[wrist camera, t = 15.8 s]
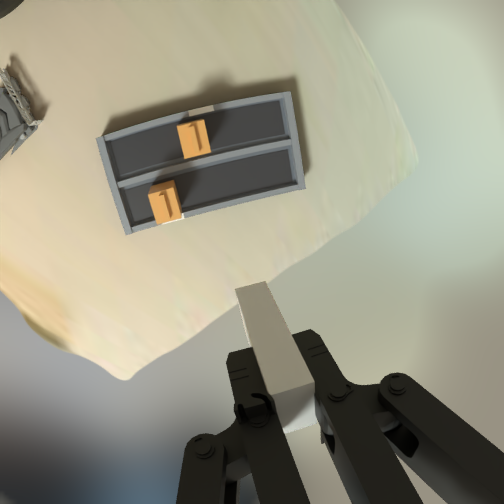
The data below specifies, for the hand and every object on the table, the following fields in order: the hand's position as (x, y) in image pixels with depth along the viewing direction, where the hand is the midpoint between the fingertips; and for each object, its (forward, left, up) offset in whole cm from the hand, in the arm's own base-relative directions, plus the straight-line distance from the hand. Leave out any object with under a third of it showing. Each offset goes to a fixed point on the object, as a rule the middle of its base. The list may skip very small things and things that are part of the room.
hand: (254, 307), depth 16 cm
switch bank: (-2, 0, -32) cm, 32 cm away
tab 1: (+1, -6, -30) cm, 30 cm away
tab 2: (-6, 0, -30) cm, 30 cm away
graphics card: (-18, -30, -33) cm, 48 cm away
